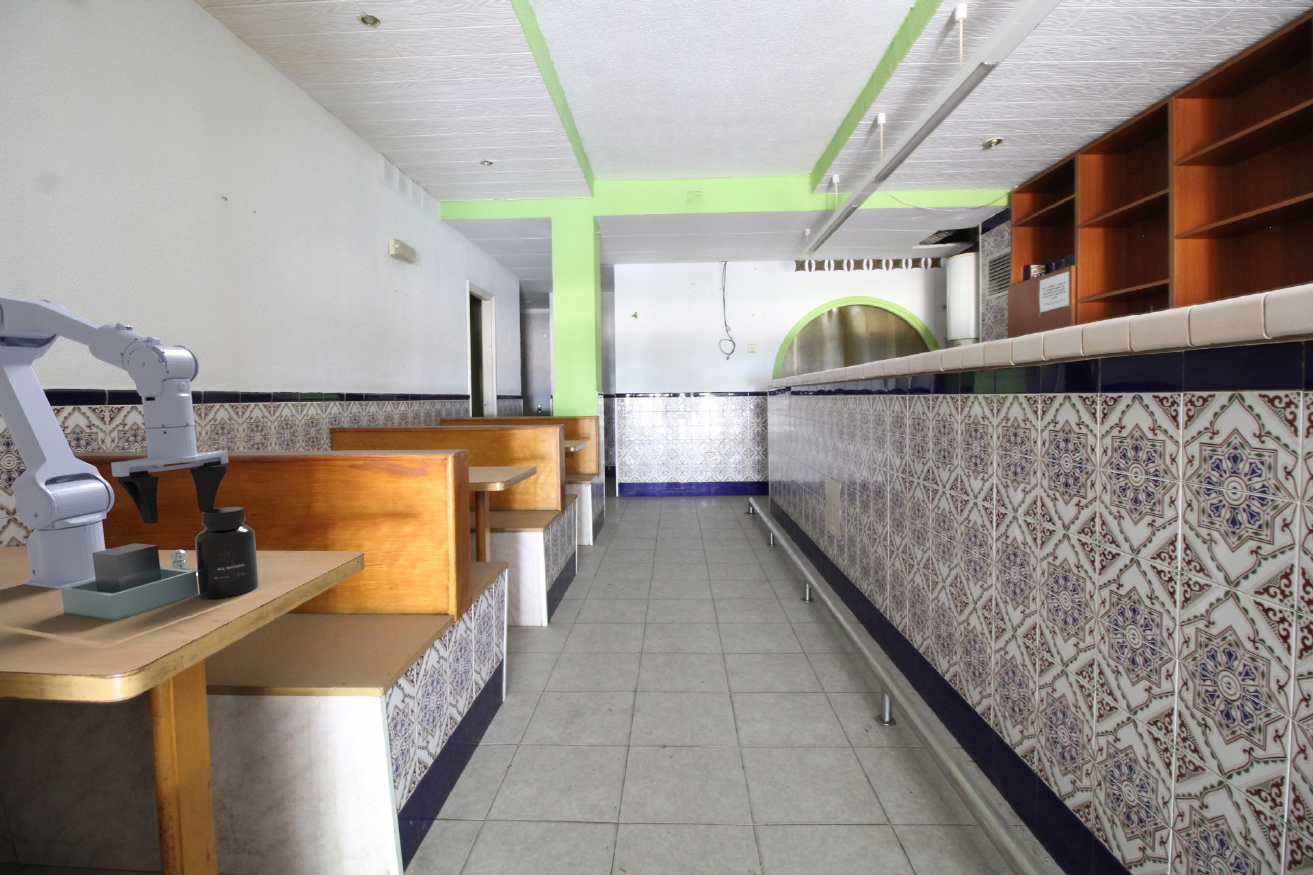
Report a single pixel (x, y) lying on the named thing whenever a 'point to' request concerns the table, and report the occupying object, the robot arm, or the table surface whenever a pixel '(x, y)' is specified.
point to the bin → (129, 596)
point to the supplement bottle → (226, 554)
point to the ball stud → (180, 560)
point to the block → (126, 567)
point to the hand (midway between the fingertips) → (179, 517)
